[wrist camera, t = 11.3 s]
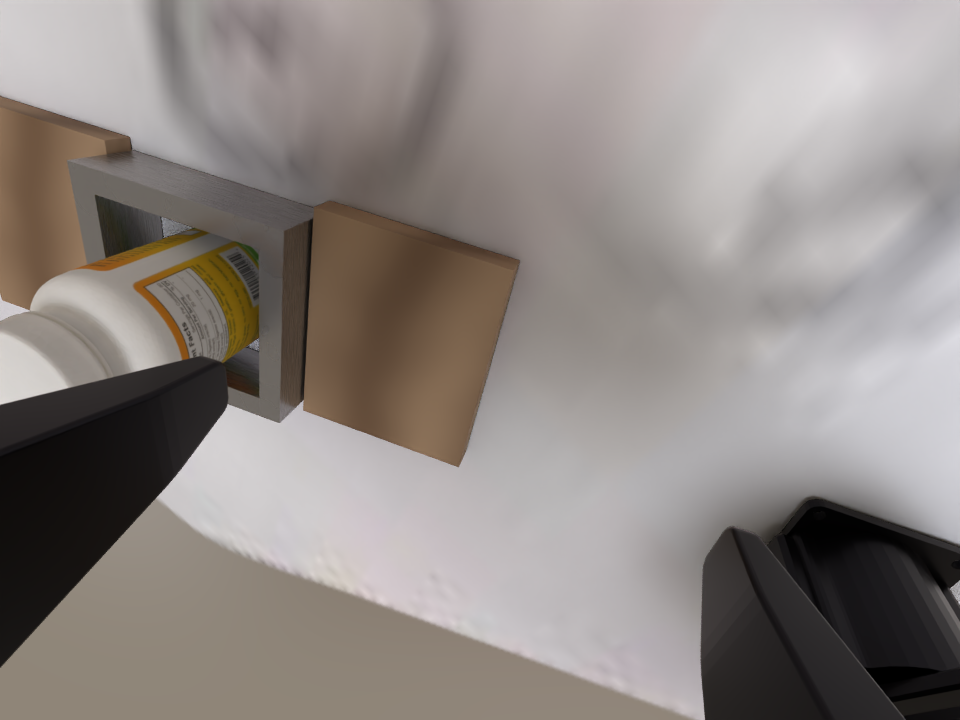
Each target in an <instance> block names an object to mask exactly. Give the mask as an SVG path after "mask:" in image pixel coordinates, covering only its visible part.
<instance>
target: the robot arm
mask: <svg viewBox="0 0 960 720" xmlns="http://www.w3.org/2000/svg"><path fill="white" fill-rule="evenodd" d="M228 399H229V396H228V385H227V374H226V367H225V365H224V364H223V363H222V362H220V361H218V360H215V359H211V358H208V357H205V356H197V357H193V358H189V359H185V360H181V361H177V362H172V363H168V364H164V365H160V366H156V367H152V368H148V369H144V370H140V371H136V372H131V373H127V374H123V375H119V376H115V377H111V378H107V379H103V380H99V381H95V382H91V383H86V384H82V385H78V386H74V387H70V388H66V389H62V390H58V391H54V392H50V393H46V394H41V395H37V396H33V397H29V398H25V399H21V400H17V401H13V402H9V403H5V404H1V405H0V667H1V666H2V665H3V664H4V663H5V662H6V661H7V660H8V659H9V658H10V657H11V656H12V655H13V653H14V652H15V651H16V650H17V649H18V648H19V647H20V646H21V645H22V644H23V642H24V641H25V640H26V639H27V638H28V637H29V636H30V635H31V634H32V633H33V632H34V631H35V629H36V628H37V627H38V626H39V625H40V624H41V623H42V622H43V621H44V620H45V619H46V617H47V616H48V615H49V614H50V613H51V612H52V611H53V610H54V608H55V607H57V605H58V604H59V603H60V602H61V601H62V600H63V599H64V598H65V597H66V596H67V595H68V593H69V592H70V591H71V590H72V589H73V588H74V587H75V586H76V585H77V584H78V583H79V581H80V580H81V579H82V578H83V577H84V576H85V575H86V574H87V573H88V572H89V571H90V569H91V568H92V567H93V566H94V565H95V564H96V563H97V562H98V561H99V560H100V559H101V558H102V556H103V555H104V554H105V553H106V552H107V551H108V550H109V549H110V548H111V546H112V545H113V544H114V543H115V542H116V541H117V540H118V539H119V538H120V537H121V536H122V535H123V534H124V532H125V531H126V530H127V529H128V528H129V527H130V526H131V525H132V524H133V522H135V520H136V519H137V518H138V517H139V516H140V515H141V514H142V513H143V512H144V511H145V510H146V508H147V507H148V506H149V505H150V504H151V503H152V502H153V501H154V500H155V499H156V498H157V496H158V495H159V494H160V493H161V492H162V491H163V490H164V489H165V488H166V487H167V485H168V484H169V483H170V482H171V481H172V480H173V479H174V477H175V476H176V475H177V474H178V472H179V471H180V470H181V469H182V467H183V466H184V465H185V463H186V462H187V461H188V459H189V458H190V457H191V455H192V454H193V453H194V451H195V450H196V449H197V447H198V446H199V445H200V443H201V442H202V441H203V439H204V438H205V437H206V435H207V434H208V433H209V431H210V430H211V429H212V427H213V426H214V424H215V423H216V422H217V420H218V419H219V418H220V416H221V415H222V414H223V412H224V411H225V409H226V407H227V404H228ZM815 511H821V512H820V513H814V512H815ZM956 560H958V561H956ZM959 580H960V547H957V546H954V545H951V544H948V543H945V542H942V541H939V540H936V539H934V538H931V537H928V536H925V535H922V534H919V533H916V532H913V531H910V530H908V529H905V528H902V527H899V526H896V525H893V524H890V523H887V522H884V521H882V520H879V519H876V518H873V517H870V516H867V515H864V514H861V513H858V512H855V511H853V510H850V509H847V508H844V507H841V506H838V505H835V504H832V503H829V502H827V501H824V500H819V499H814V500H810V501H807V502H806V503H805V504H804V505H803V506H802V507H801V508H800V509H799V511H798V512H797V513H796V514H795V516H794V517H793V518H792V519H791V520H790V522H789V523H788V524H787V525H786V527H785V528H784V529H783V530H782V531H781V533H780V534H778V535H777V536H775V537H774V538H773V540H772V541H771V542H770V543H769V545H768V546H766V545H765V543H764V542H763V541H762V540H761V538H760V537H759V536H758V535H756V534H755V533H753V532H750V531H747V530H744V529H741V528H738V527H734V526H730V527H728V528H726V529H725V530H724V531H723V533H722V534H721V536H720V537H719V539H718V540H717V542H716V543H715V545H714V546H713V547H712V549H711V550H710V552H709V553H708V555H707V557H706V559H705V561H704V565H703V580H702V616H701V676H702V689H703V700H704V712H705V720H960V605H959V603H958V601H957V600H956V598H955V597H954V595H953V593H952V592H951V590H950V588H951V587H952V586H953V585H954V584H956V583H957V582H958V581H959Z"/></svg>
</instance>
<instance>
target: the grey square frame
mask: <svg viewBox="0 0 960 720" xmlns="http://www.w3.org/2000/svg"><path fill="white" fill-rule="evenodd" d="M67 164H68V169H69V174H70V179H71V184H72V189H73V194H74V200H75V205H76V210H77V215H78V220H79V225H80V230H81V235H82V240H83V245H84V251H85V256H86V261H87V265H88V264H91V263H93V262H96V261H99V260H102V259H105V258H108V257H111V256H114V255H117V254H120V253H123V252H126V251H129V250H132V249H134V248H137V247H141V246H144V245H146V244H149V243H152V242H155V241H158V240H161V239H163V236H162V227H161V217H164V218H167V219H170V220H173V221H176V222H179V223H182V224H185V225H188V226H191V227H194V228H197V229H200V230H203V231H206V232H209V233H212V234H215V235H218V236H221V237H224V238H227V239H230V240H233V241H236V242H239V243H242V244H245V245H248V246H251V247H254V248H257V249H259V352H258V351H255V350H252V349H250V348H247V347H245V348H243V349H242V350H240V351H239V352H238V353H236V354H235V355H233V356H232V357H230V358H229V359H228V360H226V361H225V362H223V364H224V365H225V367H226V374H227V385H228V396H229V399H228V404H229V405H232V406H235V407H237V408H240V409H243V410H245V411H248V412H251V413H254V414H256V415H259V416H262V417H264V418H267V419H270V420H272V421H275V422H278V423H280V422H281V421H282V420H283V419H284V418H285V417H286V416H287V415H288V414H289V413H290V412H292V411H293V410H294V409H295V408H296V407H297V406H298V405H299V404H300V403H301V402H302V401H303V400H304V385H305V366H306V347H307V328H308V310H309V291H310V272H311V253H312V234H313V215H314V208H312V207H309V206H306V205H303V204H300V203H297V202H294V201H291V200H287V199H284V198H281V197H278V196H275V195H272V194H269V193H265V192H262V191H259V190H256V189H253V188H250V187H247V186H244V185H240V184H237V183H234V182H231V181H228V180H225V179H222V178H218V177H215V176H212V175H209V174H206V173H203V172H200V171H197V170H193V169H190V168H187V167H184V166H181V165H178V164H175V163H171V162H168V161H165V160H162V159H159V158H156V157H153V156H150V155H146V154H143V153H140V152H137V151H134V150H132V151H125V152H118V153H112V154H105V155H98V156H91V157H85V158H78V159H71V160H67ZM160 216H161V217H160Z"/></svg>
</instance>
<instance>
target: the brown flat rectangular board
mask: <svg viewBox="0 0 960 720" xmlns="http://www.w3.org/2000/svg"><path fill="white" fill-rule="evenodd" d="M125 151H131V144H130V137H127V136H124V135H121V134H118V133H115V132H111V131H108V130H105V129H102V128H99V127H96V126H92V125H89V124H86V123H83V122H80V121H77V120H74V119H70V118H67V117H64V116H61V115H58V114H55V113H51V112H48V111H45V110H42V109H39V108H36V107H32V106H29V105H26V104H23V103H20V102H17V101H13V100H10V99H7V98H4V97H1V96H0V294H1V297H2V300H3V301H6V302H9V303H11V304H14V305H17V306H20V307H22V308H25V309H28V310H30V306H31V303H32V300H33V297H34V296H35V294H36V292H37V291H38V289H39V288H40V287H41V286H42V285H44V284H45V283H46V282H47V281H49V280H50V279H52V278H54V277H56V276H58V275H61V274H64V273H66V272H68V271H70V270H73V269H76V268H79V267H81V266H85V265H87V261H86V256H85V251H84V245H83V240H82V235H81V230H80V225H79V220H78V215H77V210H76V205H75V200H74V194H73V189H72V184H71V179H70V174H69V169H68V164H67V160H71V159H78V158H85V157H91V156H98V155H105V154H112V153H118V152H125ZM519 263H520V261H519V260H516V259H513V258H510V257H507V256H503V255H500V254H497V253H494V252H491V251H488V250H484V249H481V248H478V247H475V246H472V245H469V244H466V243H462V242H459V241H456V240H453V239H450V238H447V237H443V236H440V235H437V234H434V233H431V232H428V231H424V230H421V229H418V228H415V227H412V226H409V225H405V224H402V223H399V222H396V221H393V220H390V219H386V218H383V217H380V216H377V215H374V214H371V213H368V212H364V211H361V210H358V209H355V208H352V207H349V206H345V205H342V204H339V203H336V202H333V201H328V202H325V203H323V204H320V205H318V206H315V207H314V215H313V234H312V253H311V272H310V291H309V310H308V328H307V347H306V366H305V385H304V404H303V410H304V411H307V412H309V413H312V414H315V415H317V416H320V417H323V418H326V419H328V420H331V421H334V422H337V423H339V424H342V425H345V426H347V427H350V428H353V429H356V430H358V431H361V432H364V433H367V434H369V435H372V436H375V437H378V438H380V439H383V440H386V441H388V442H391V443H394V444H397V445H399V446H402V447H405V448H408V449H410V450H413V451H416V452H419V453H421V454H424V455H427V456H429V457H432V458H435V459H438V460H440V461H443V462H446V463H449V464H451V465H454V466H457V467H459V465H460V463H461V461H462V459H463V457H464V454H465V452H466V449H467V446H468V442H469V439H470V435H471V432H472V428H473V424H474V421H475V417H476V414H477V410H478V407H479V403H480V400H481V396H482V393H483V389H484V386H485V382H486V379H487V375H488V372H489V368H490V365H491V361H492V358H493V354H494V351H495V347H496V344H497V340H498V337H499V333H500V329H501V326H502V322H503V319H504V315H505V312H506V308H507V305H508V301H509V298H510V294H511V291H512V287H513V284H514V280H515V277H516V273H517V270H518V266H519Z"/></svg>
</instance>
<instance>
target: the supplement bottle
mask: <svg viewBox="0 0 960 720" xmlns="http://www.w3.org/2000/svg"><path fill="white" fill-rule="evenodd" d="M258 338H259V249H257V248H254V247H251V246H248V245H245V244H242V243H239V242H236V241H233V240H230V239H227V238H224V237H221V236H218V235H215V234H212V233H209V232H206V231H203V230H200V229H197V228H192V229H189V230H186V231H183V232H180V233H178V234H175V235H172V236H169V237H166V238H163V239H161V240H158V241H155V242H152V243H149V244H146V245H144V246H141V247H137V248H134V249H132V250H129V251H126V252H123V253H120V254H117V255H114V256H111V257H108V258H105V259H102V260H99V261H96V262H93V263H91V264H88V265H85V266H81V267H79V268H76V269H73V270H70V271H68V272H66V273H64V274H61V275H58V276H56V277H54V278H52V279H50V280H49V281H47V282H46V283H45V284H44V285H42V286H41V287H40V288H39V289H38V291H37V292H36V294H35V296H34V297H33V300H32V303H31V306H30V312H24V313H21V314H16V315H13V316H10V317H8V318H6V319H4V320H2V321H0V405H1V404H5V403H9V402H13V401H17V400H21V399H25V398H29V397H33V396H37V395H41V394H46V393H50V392H54V391H58V390H62V389H66V388H70V387H74V386H78V385H82V384H86V383H91V382H95V381H99V380H103V379H107V378H111V377H115V376H119V375H123V374H127V373H131V372H136V371H140V370H144V369H148V368H152V367H156V366H160V365H164V364H168V363H172V362H177V361H181V360H185V359H189V358H193V357H197V356H205V357H208V358H211V359H215V360H218V361H220V362H222V363H223V362H225V361H226V360H228V359H229V358H230V357H232V356H233V355H235V354H236V353H238V352H239V351H240V350H242V349H243V348H245V347H246V346H248V345H249V344H251V343H252V342H253V341H255V340H256V339H258Z"/></svg>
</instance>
